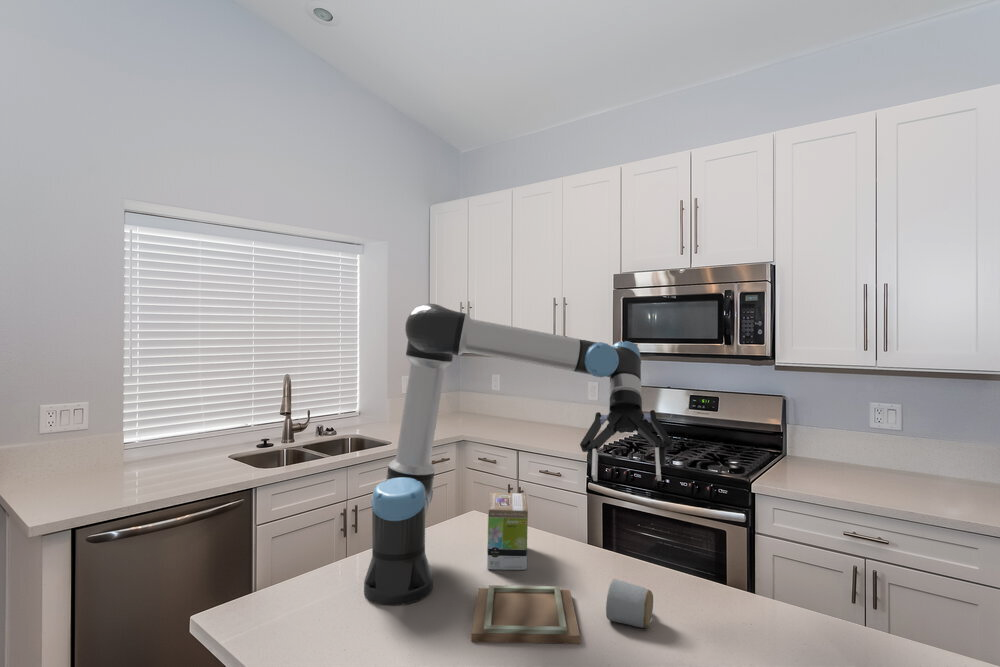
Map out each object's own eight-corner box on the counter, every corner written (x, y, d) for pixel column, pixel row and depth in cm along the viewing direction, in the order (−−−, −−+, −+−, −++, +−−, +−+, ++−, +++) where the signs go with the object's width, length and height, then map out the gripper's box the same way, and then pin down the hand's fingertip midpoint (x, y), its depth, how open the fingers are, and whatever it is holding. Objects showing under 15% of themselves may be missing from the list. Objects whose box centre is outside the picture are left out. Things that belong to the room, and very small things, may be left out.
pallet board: (471, 641, 100) (471, 629, 100) (478, 594, 118) (478, 584, 118) (579, 643, 100) (579, 631, 100) (570, 596, 118) (570, 586, 118)
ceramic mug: (647, 636, 102) (648, 595, 102) (605, 626, 105) (605, 587, 106) (656, 611, 112) (656, 574, 112) (617, 603, 115) (617, 567, 115)
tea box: (528, 571, 130) (528, 509, 130) (486, 570, 131) (486, 509, 131) (526, 546, 145) (526, 491, 146) (488, 546, 146) (488, 491, 146)
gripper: (680, 403, 129) (688, 486, 115) (577, 408, 137) (572, 486, 123) (678, 384, 124) (686, 468, 110) (571, 390, 131) (565, 470, 117)
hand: (625, 478), depth 116 cm, fingers open, 13 cm apart
